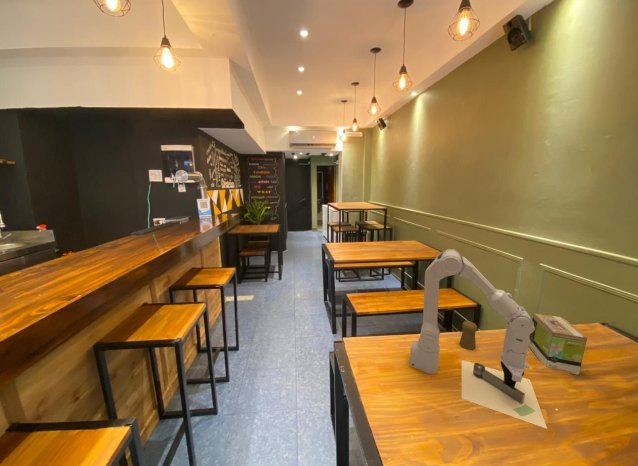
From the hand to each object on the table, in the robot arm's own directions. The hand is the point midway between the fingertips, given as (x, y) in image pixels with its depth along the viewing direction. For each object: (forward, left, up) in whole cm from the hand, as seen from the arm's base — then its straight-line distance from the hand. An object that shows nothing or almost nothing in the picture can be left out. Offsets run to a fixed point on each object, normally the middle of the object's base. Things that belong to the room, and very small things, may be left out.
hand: (508, 386), depth 80 cm
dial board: (-3, -1, -2) cm, 4 cm away
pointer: (-3, 0, -1) cm, 3 cm away
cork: (-11, +20, -3) cm, 23 cm away
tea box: (+17, +28, -3) cm, 33 cm away
